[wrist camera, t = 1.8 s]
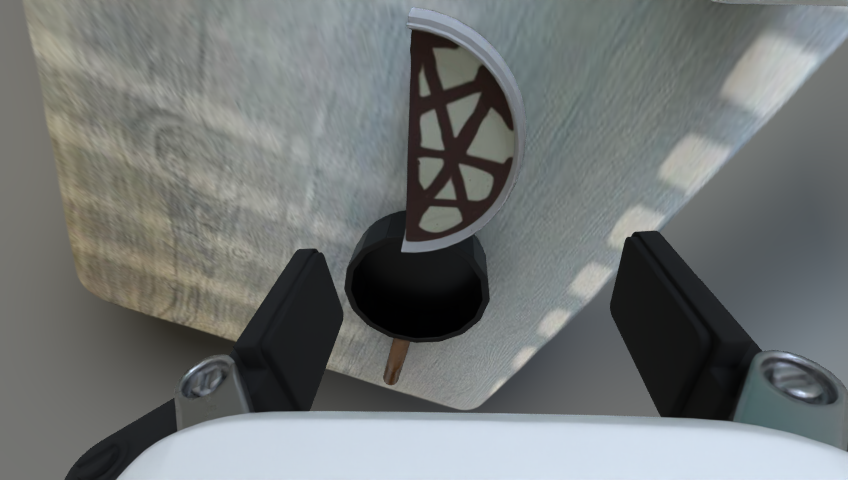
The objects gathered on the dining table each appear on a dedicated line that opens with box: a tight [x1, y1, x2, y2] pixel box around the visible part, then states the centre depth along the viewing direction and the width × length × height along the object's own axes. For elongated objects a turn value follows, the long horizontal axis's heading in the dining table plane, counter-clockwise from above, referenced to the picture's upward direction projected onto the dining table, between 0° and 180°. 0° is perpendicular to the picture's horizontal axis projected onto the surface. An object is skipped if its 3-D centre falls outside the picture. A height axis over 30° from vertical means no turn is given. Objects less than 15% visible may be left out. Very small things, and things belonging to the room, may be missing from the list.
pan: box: [344, 211, 490, 385], centre depth 34 cm, size 21×12×4 cm, turn 167°
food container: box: [401, 7, 527, 253], centre depth 21 cm, size 12×6×10 cm, turn 177°
